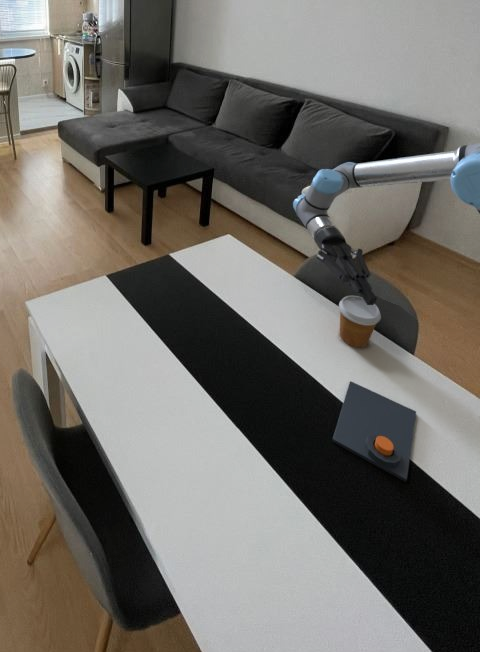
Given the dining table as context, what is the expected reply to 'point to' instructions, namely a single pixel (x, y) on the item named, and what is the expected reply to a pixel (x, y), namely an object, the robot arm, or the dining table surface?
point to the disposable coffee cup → (357, 320)
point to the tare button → (384, 446)
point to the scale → (376, 429)
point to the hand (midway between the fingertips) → (372, 301)
